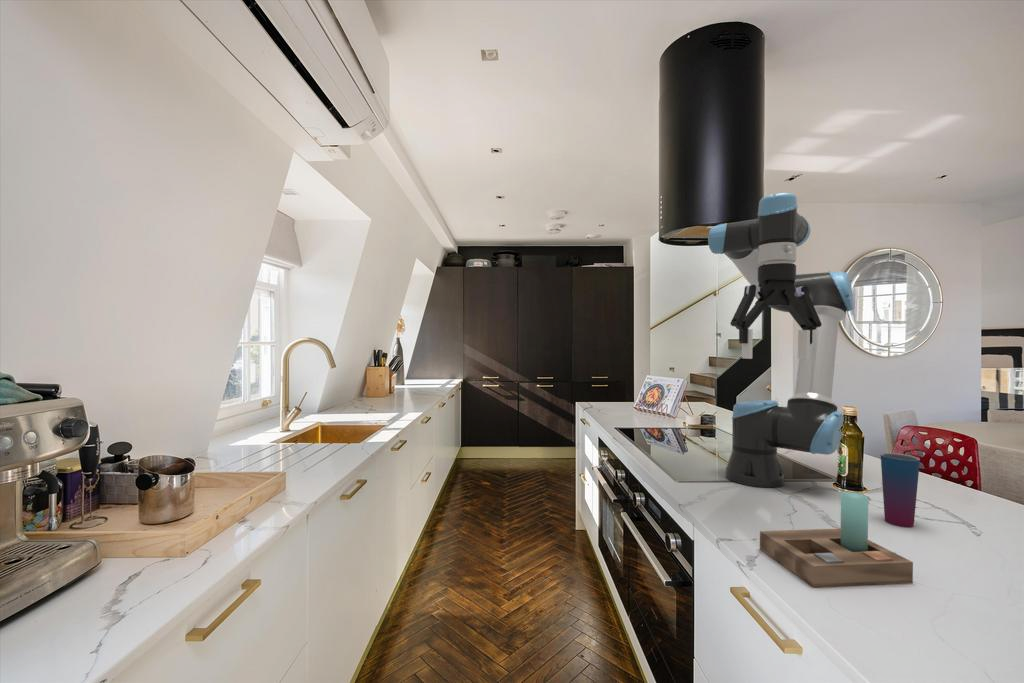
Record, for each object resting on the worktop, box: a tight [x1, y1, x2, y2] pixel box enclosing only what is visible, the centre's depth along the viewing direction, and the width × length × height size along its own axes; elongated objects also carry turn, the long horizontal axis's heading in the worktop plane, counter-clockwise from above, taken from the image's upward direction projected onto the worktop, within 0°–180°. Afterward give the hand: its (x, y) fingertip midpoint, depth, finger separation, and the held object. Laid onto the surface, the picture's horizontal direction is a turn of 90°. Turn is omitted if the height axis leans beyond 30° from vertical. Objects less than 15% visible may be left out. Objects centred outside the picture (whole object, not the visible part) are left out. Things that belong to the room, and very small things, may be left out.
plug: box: [840, 491, 869, 552], centre depth 84 cm, size 4×4×12 cm
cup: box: [880, 452, 921, 528], centre depth 104 cm, size 7×7×15 cm
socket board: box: [759, 528, 914, 588], centre depth 84 cm, size 14×18×4 cm
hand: (775, 358), depth 104 cm, fingers open, 13 cm apart
